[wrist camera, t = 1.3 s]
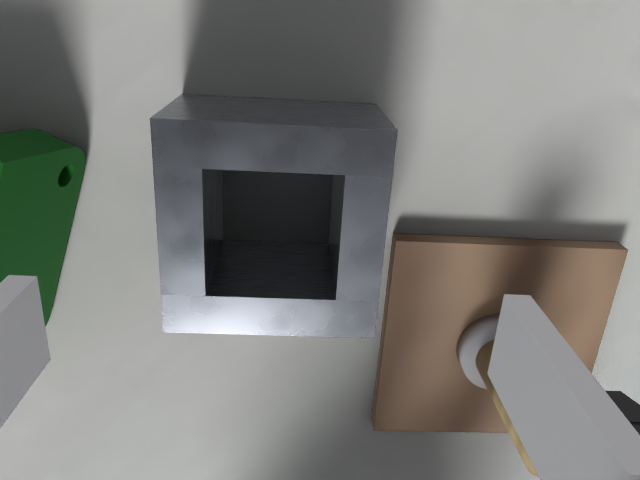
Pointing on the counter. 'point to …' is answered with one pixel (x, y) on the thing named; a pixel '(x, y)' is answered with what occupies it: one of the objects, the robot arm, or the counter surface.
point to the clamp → (37, 206)
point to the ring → (264, 256)
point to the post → (478, 322)
